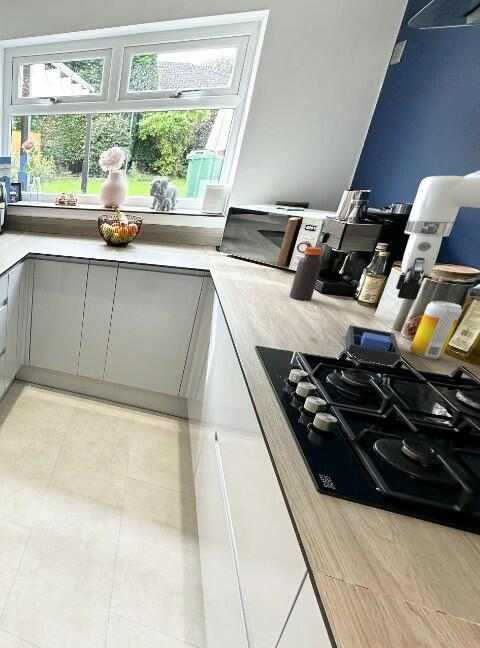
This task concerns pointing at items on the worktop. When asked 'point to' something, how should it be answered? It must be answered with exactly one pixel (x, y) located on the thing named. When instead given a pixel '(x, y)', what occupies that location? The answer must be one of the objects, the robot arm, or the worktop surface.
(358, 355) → the sorting tray
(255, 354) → the worktop surface
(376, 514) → the worktop surface
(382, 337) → the blue block
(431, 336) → the beer can
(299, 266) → the bottle
